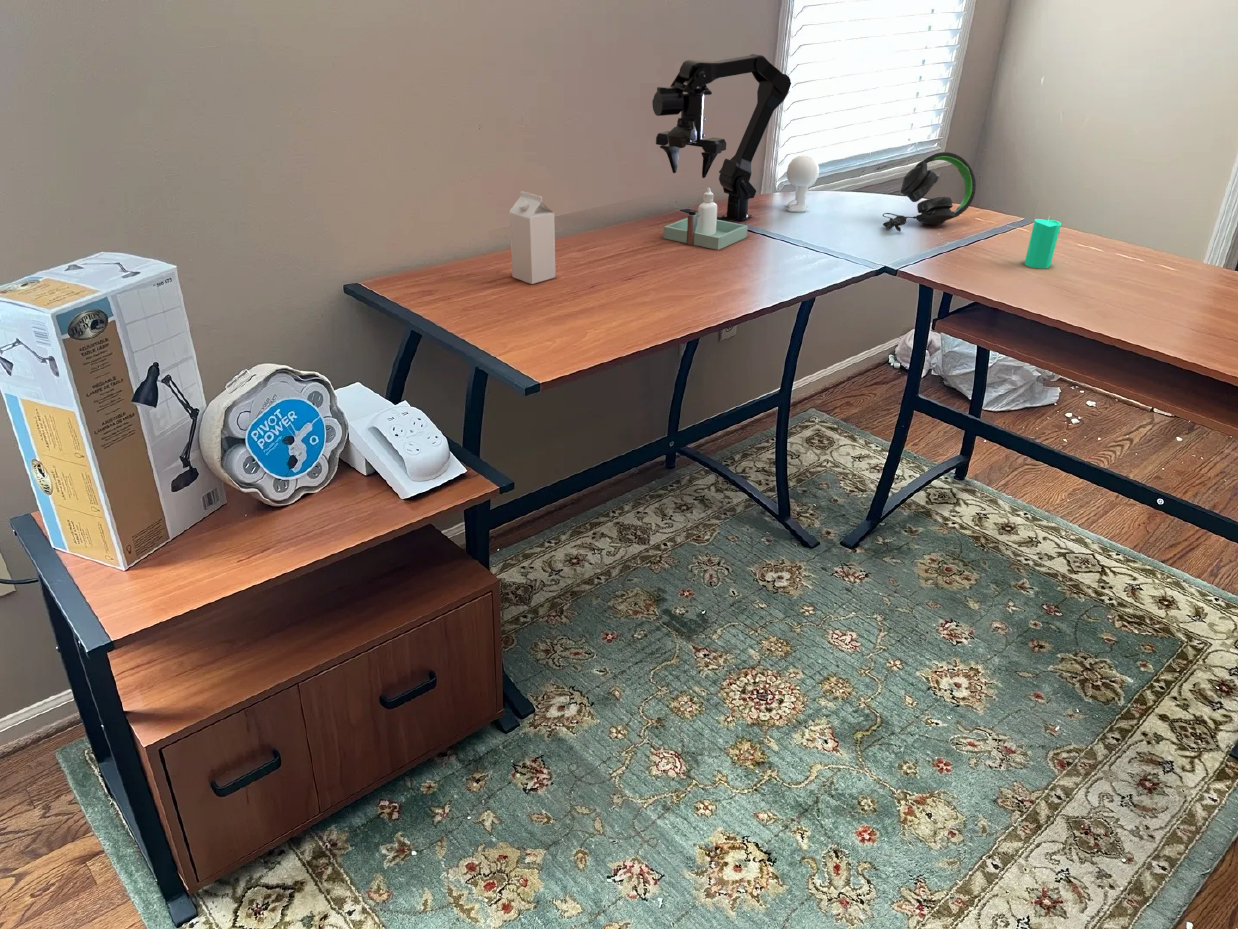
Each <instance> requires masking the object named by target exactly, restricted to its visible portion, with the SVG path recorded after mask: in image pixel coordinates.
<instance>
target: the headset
mask: <svg viewBox="0 0 1238 929" xmlns="http://www.w3.org/2000/svg"><path fill="white" fill-rule="evenodd" d="M936 161H944V162H947V163H949V164H951V165H953V166H954V167H955V168H957V170H958V172H959V174H960V176H961V178H963V181H964V195H963V199H962V201H961V203H960V204H959V205H958V207H956V209H955V210H954V211H952V210H951V208H953V200H952V198H951V197H950V196H936V197H932V198H928V199H927V198H926V199H924V200H922V199H923V198H924V197H925V196H926V195H927V194H929V193H928V192H930V191H931V189H932V187H933V186H934V185H935V184H936V183H937V182H938V181H939V179H940V178H939V177H940V176H939V175H937V173H936V172H935V171H933V170H932V169H928V163H930V162H936ZM976 190H977V182H976V176H975V173H974V170H973V168H972V167H971V165H970V164H969V163H968V161H966V159H965V158H964V157H962V156H961V155H958V154H956V153H954V152H949V151H940V152H937V153H933V154H931V155H929V156H928V157H925V158H924V159H922V160H921V161H919V162H918V163H917V164H916V165H915V166H914V167H913V168H911V169H910V170H909V171H908V172H907V173H906V175H905V176H904V178H903V180H902V183H901V187H900V194H901V195H903V196H906V197H907V198H908V199H909V200H910V201H911V202H912V203H917V202H918V203H917V204H916V210H917V213H918V214H917V215H916V216H915V215H914V216H905V215H899V214H895V213H890V212H884V213H882V215H881V216H882V217H884V218H887V219H889V220H888V221H885V222H883V223H882V226H883V227H885V228H886V230H892V228H893V227H894V228H895V230H896V231H897V232H899V233H901V232H902V228H901V227H900V226H904V225H906V223H907V220H908V219H914V220H916V221H918V222H919V223H923V224H926V225H928V226H938V225H941V224H944V223H946V222H947V221H948V220H952V219H954V218H957V217H959V216H961V215H962V214H963V213H964V212H965V211H966V210H967V209H968V208H969V207H970V206H971V204H972V203H973V200H974V198H975V195H976ZM919 201H920V202H919ZM886 215H891V216H894V218H893V217H890V216H886Z"/></svg>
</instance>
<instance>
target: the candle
mask: <svg viewBox="0 0 1238 929" xmlns="http://www.w3.org/2000/svg"><path fill="white" fill-rule="evenodd" d="M1050 217H1051V215H1050V214H1049V215H1048V219H1042V218H1035V219H1034V221H1033V226H1032V230H1031V234H1030V239H1029V243H1028V247H1027V251H1026V255H1025V259H1024V263H1023V264H1024V265H1025V266H1027V267H1029V268H1032V269H1033V268H1034V269H1039V270H1040V269H1044V270H1045V269H1050V268H1051V265H1052V261H1053V257H1054V254H1055V250H1056V246H1057V243H1058V242H1057V241H1058V238H1059V233H1060V230H1061V226H1062V222H1061V221H1058V220H1054V219H1050Z"/></svg>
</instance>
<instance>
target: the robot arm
mask: <svg viewBox="0 0 1238 929" xmlns="http://www.w3.org/2000/svg"><path fill="white" fill-rule="evenodd" d="M750 73H751V75H752V76H753V78H754V80H755V81H756V82H757V83H758V88H757V93H756V96H757V98H756V99H757V102H756V105H755V107H754V110H753V112H752V115H751V117H750V119H749V122H748V124H747V126H746V128H745V131H744V133H743V136H742V138H741V140H740V142H739V145H738V148H737V150H736V152H735V154H734V156H732V157H731V158H730V159H728V158H725V159H724V160H723V163H722V166H721V168H720V170H719V171H718V173H719V177H718V181H719V184H720V186H721V187H722V189H723V193H724V194H727V196H728V197H727V206H726V214H723V215H722V216H721V218H722V219H727V220H731V221H736V222H744V221H747V220H749V219H751V218H753V214H749V204H750V199H754V198H755V196H756V193H757V189H756V188H755V187H754V186H753V185H752V183H751V182H750V181H751V177H752V173H753V172H752V162H753V159H754V157H755V155H756V153H757V150H758V148H759V146H760V143H761V141H762V139H763V137H764V134H765V132H766V130H767V128H768V125H769V123H770V120H771V118H772V116H773V114H774V112H775V110H776V109H778V107H779V106H780V105H781V104H783V102H784V101H785V99H786V98H787V96H788V94H789V93H790V91H791V90H792V85H793V84H792V82H791V81H792V80H791V78H790V76H789V75H788V74H785V73H783V72H781V70H780V69H779V68H777V67H776V66H774V65H773V64H772V63H771V62H770V61H769V60H768V59H767V58H766V57H765V56H764V55H762V54H757V53H751V54H749V55H744V56H738V57H732V58H727V59H720V60H714V61H712V60H711V61H709V60H699V59H687V60H684V61H683V62H682V64H681V65H680V67H679V71H678V73H677V75H676V77H674V79H673V81H672V82H671V84H670V86H657V87H656V92H655V93H654V96H653V99H652V103H651V105H652V110H653V111H652V112H653V113H654V115H655V116H657V117H665V116H677V115H680V117H678V118H677V121H676V122H677V124H676V126H674V127H673V128H672V129H670V130H666V131H662V132H658V133H657V135H655V145H657V146H659V147H660V149H662V150H663V151H664V152H665V153H666V156H667V158H668V162H669V164H670V168H671V172H672V174H676V173H677V170H678V165H679V164H678V163H679V156H680V149H684V148H686V146H692V147H697V148H702V150H703V152H700V154H701V157H702V168H701V178H702V179H705V178H706V177H707V175H708V173H709V171H710V169H711V166H712V164H713V163H714V161H715V159H716V158H717V156H718V155H719V154H721V153H722V152H724V151H726V150H727V142H726V139H725V138H721V137H714V136H712V137H709V138H706V139H705V133H703V123H705V122H706V116H704V106H705V101H704V100H705V96H710V95H712V94H713V91H711V89H709V87H708V86H707V85H709V84H711V83H713V82H714V81H716V80H718V79H722V78H726V77H732V76H738V75H745V74H750Z"/></svg>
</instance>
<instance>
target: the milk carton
mask: <svg viewBox="0 0 1238 929" xmlns="http://www.w3.org/2000/svg"><path fill="white" fill-rule="evenodd" d="M508 212H509V214H508V215H509V234H510V256H511V275H512V278H514V279H516V280H519V281H522V282H524V283H527V284H529V285H534V284H537V283H541V282H545V281H548V280H551V279H555V278H556V242H555V241H556V237H555V235H556V234H555V212H554V211H553V210H552V209H551V208H550V207H548V206H547V205H546V204H545V203H544V202H543V197H542V196H541V195H536V194H534V193H530V192H527V191H523V190H520V197H519V198H518V199H517V200H516V202H515V203H514V205H512V208H511V209H510V210H509V211H508Z"/></svg>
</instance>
